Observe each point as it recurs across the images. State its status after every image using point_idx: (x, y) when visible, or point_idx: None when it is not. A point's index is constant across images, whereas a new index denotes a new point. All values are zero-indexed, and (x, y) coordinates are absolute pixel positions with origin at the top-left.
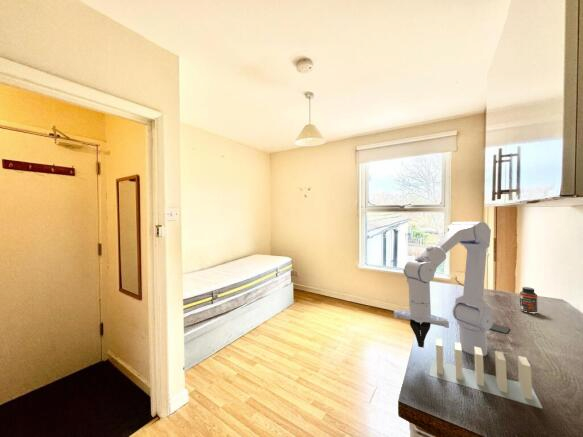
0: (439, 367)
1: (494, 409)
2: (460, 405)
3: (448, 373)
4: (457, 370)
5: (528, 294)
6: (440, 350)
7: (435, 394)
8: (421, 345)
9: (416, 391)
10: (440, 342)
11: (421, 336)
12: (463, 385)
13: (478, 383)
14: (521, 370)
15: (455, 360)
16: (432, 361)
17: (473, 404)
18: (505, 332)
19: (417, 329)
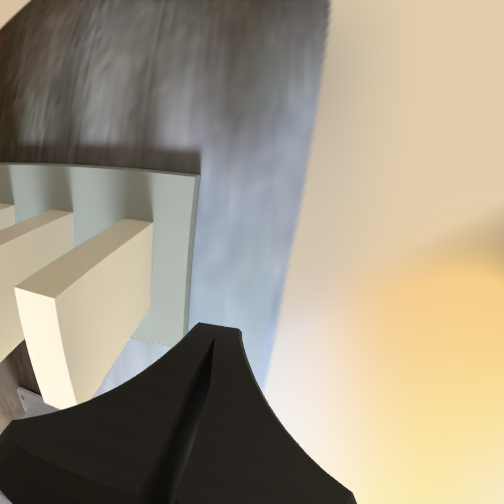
0: (125, 231)
1: (5, 100)
2: (94, 44)
3: None
4: (42, 223)
5: None
6: (50, 271)
7: (183, 59)
8: (208, 331)
9: (276, 42)
10: (39, 357)
11: (180, 385)
12: (52, 166)
13: (7, 206)
14: None
15: (11, 239)
16: (175, 332)
17: (51, 82)
18: None
19: (216, 462)
